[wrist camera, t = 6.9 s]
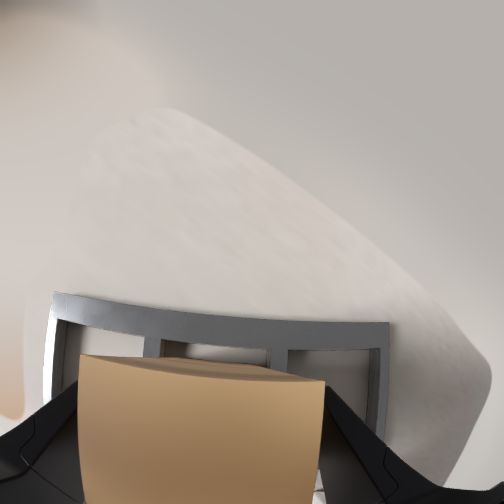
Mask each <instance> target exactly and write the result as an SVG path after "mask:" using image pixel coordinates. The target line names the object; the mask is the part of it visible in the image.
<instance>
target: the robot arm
mask: <svg viewBox="0 0 504 504" xmlns="http://www.w3.org/2000/svg"><path fill="white" fill-rule="evenodd" d="M318 463H319V468H320V473H321V478H322V483H323V488H324V494H325V499H326V504H504V482H500V483H499V484H497V485H496V486H494V487H493V488H491V489H490V490H486V491H476V490H461V489H452V488H445V487H441V486H438V485H436V484H434V483H432V482H431V481H429V480H428V479H426V478H425V477H424V476H422V475H421V474H419V473H418V472H417V471H415V470H414V469H413V468H411V467H410V466H409V465H408V464H406V463H405V462H404V461H403V460H402V459H400V458H399V457H398V456H397V455H396V454H395V453H394V452H393V451H392V450H391V449H390V448H389V447H387V445H386V444H385V443H384V442H383V441H382V440H381V439H380V438H379V437H378V436H377V435H376V434H375V433H374V432H373V431H372V430H371V429H370V428H369V427H368V426H367V425H366V424H365V423H364V422H363V421H362V420H361V419H360V418H359V417H358V416H357V415H356V414H355V413H354V412H353V411H352V409H351V408H350V407H349V406H348V405H347V404H346V403H345V402H344V401H343V400H342V399H341V398H340V397H339V396H338V395H337V394H336V393H335V392H334V391H333V389H332V388H331V387H330V386H327V385H325V393H324V408H323V420H322V432H321V442H320V451H319V459H318ZM84 499H85V496H84V490H83V483H82V475H81V467H80V456H79V442H78V379H77V380H76V381H75V382H73V383H72V384H71V385H70V386H68V387H67V388H66V389H65V390H63V391H62V392H61V393H59V394H58V395H57V396H56V397H54V398H53V399H52V400H50V401H49V402H48V403H47V404H45V405H44V406H43V407H42V408H40V409H39V410H38V411H37V412H35V413H34V414H33V415H31V416H30V417H29V418H28V419H26V420H25V421H23V422H22V423H21V424H19V425H18V426H16V427H15V428H13V429H12V430H10V431H9V432H7V433H5V434H4V435H2V436H0V504H84Z"/></svg>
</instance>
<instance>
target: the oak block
mask: <svg viewBox="0 0 504 504" xmlns="http://www.w3.org/2000/svg"><path fill="white" fill-rule="evenodd" d="M324 393H325V381H322V380H317V379H312V378H307V377H302V376H297V375H293V374H288V373H284V372H280V371H275V370H271V369H267V368H263V367H259V366H256V365H252V364H240V363H226V362H215V361H205V360H196V359H187V358H142V357H113V356H96V355H83V354H80V363H79V378H78V442H79V456H80V467H81V475H82V483H83V490H84V496H85V502H86V504H312V501H313V495H314V489H315V482H316V475H317V467H318V459H319V451H320V442H321V432H322V420H323V408H324Z"/></svg>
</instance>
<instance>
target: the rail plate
mask: <svg viewBox="0 0 504 504" xmlns="http://www.w3.org/2000/svg"><path fill="white" fill-rule="evenodd" d="M68 322H72V323H76V324H80V325H85V326H89V327H94V328H99V329H103V330H108V331H113V332H119V333H124V334H130V335H135V336H141V337H145V340H144V351H143V358H164V352H165V342H166V340H168V341H176V342H184V343H192V344H201V345H211V346H222V347H234V348H249V349H267V361H266V368H267V369H271V370H275V371H280V372H284V373H287V361H288V350H308V351H322V350H361V349H370V361H369V389H368V404H367V417H366V425H367V426H368V427H369V428H370V429H371V430H372V431H373V432H374V433H375V434H376V435H377V436H378V437H379V438H380V439H381V440H382V441H384V433H385V424H386V413H387V401H388V384H389V322H370V323H351V322H306V321H283V320H266V319H251V318H238V317H226V316H215V315H205V314H195V313H186V312H178V311H170V310H162V309H154V308H147V307H140V306H133V305H127V304H120V303H114V302H108V301H102V300H97V299H91V298H86V297H81V296H75V295H70V294H65V293H61V292H56V291H54V293H53V298H52V303H51V309H50V316H49V322H48V330H47V338H46V348H45V360H44V379H43V406H44V405H45V404H47V403H48V402H49V401H50V400H52V399H53V398H54V397H56V396H57V395H58V394H59V393H61V392H62V380H63V362H64V350H65V341H66V332H67V324H68ZM318 469H320V468H319V463H318V467H317V470H318Z"/></svg>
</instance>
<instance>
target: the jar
mask: <svg viewBox="0 0 504 504" xmlns="http://www.w3.org/2000/svg"><path fill="white" fill-rule="evenodd" d="M312 504H326V499H325V494H324V492H317V491H316V492H314V495H313V501H312Z"/></svg>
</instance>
